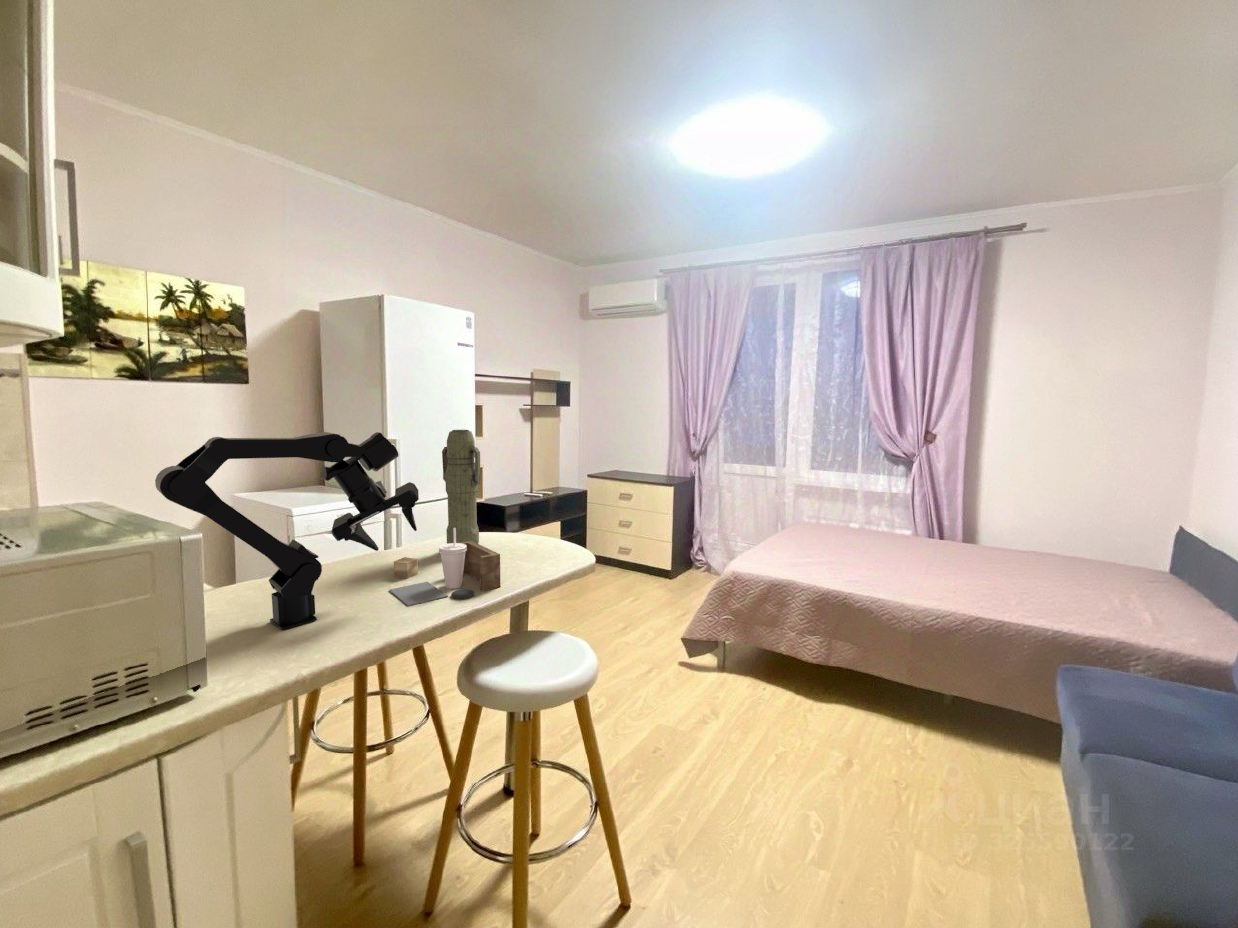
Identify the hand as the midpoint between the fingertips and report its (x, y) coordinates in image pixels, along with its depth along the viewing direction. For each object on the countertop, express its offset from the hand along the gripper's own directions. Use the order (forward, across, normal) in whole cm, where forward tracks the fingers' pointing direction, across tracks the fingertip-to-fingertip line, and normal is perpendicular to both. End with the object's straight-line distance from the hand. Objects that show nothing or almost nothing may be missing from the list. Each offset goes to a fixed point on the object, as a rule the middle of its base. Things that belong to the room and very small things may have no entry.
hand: (397, 539), depth 126 cm
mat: (+13, +2, +4) cm, 13 cm away
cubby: (+20, -9, -1) cm, 22 cm away
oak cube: (+15, +6, -10) cm, 19 cm away
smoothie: (+17, -4, +1) cm, 18 cm away
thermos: (+26, -5, -27) cm, 38 cm away
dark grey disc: (+16, -7, +8) cm, 19 cm away
